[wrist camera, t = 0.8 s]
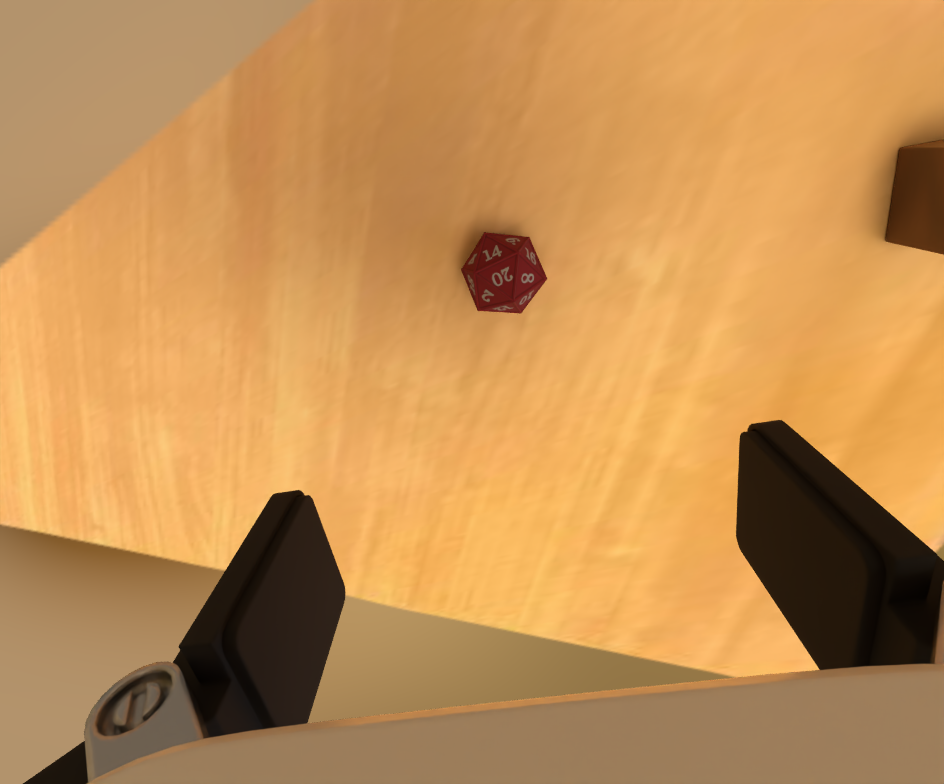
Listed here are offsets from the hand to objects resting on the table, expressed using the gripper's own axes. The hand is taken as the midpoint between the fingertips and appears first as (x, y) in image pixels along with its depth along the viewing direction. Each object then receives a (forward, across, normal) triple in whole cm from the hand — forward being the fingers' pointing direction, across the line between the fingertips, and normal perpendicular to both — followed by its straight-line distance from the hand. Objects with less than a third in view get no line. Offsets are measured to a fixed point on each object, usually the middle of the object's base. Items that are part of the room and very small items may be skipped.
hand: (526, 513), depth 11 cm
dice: (+19, 0, -2) cm, 19 cm away
